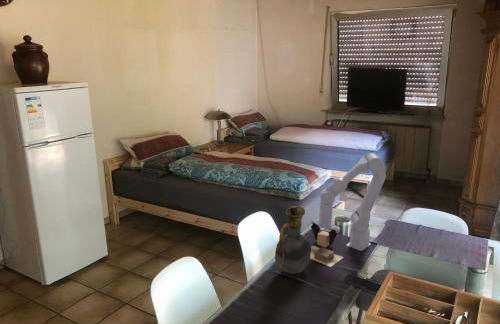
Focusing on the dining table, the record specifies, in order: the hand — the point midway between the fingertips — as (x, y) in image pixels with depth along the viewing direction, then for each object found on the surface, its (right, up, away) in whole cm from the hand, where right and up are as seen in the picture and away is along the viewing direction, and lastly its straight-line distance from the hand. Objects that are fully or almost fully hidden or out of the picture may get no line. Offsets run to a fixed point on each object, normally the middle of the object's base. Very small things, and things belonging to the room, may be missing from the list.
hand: (323, 241), depth 188 cm
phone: (+10, -11, -30) cm, 34 cm away
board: (-3, -5, -10) cm, 11 cm away
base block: (-2, -5, -12) cm, 13 cm away
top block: (0, -2, 0) cm, 2 cm away
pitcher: (-18, -9, -24) cm, 31 cm away
